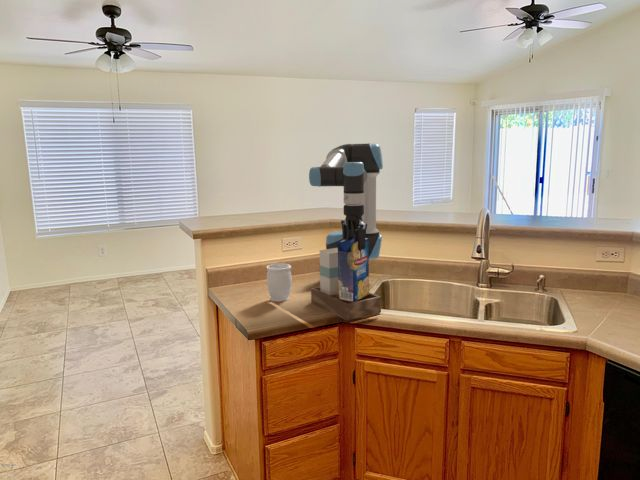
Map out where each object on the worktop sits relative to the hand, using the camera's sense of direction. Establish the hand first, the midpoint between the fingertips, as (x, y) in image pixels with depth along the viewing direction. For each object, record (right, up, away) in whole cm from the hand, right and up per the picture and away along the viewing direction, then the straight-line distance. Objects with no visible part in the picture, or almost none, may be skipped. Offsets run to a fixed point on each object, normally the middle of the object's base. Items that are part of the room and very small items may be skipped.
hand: (353, 266), depth 175 cm
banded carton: (-6, -16, +13) cm, 22 cm away
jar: (-30, -16, +21) cm, 40 cm away
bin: (-3, -18, +9) cm, 20 cm away
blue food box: (0, -12, +2) cm, 12 cm away
